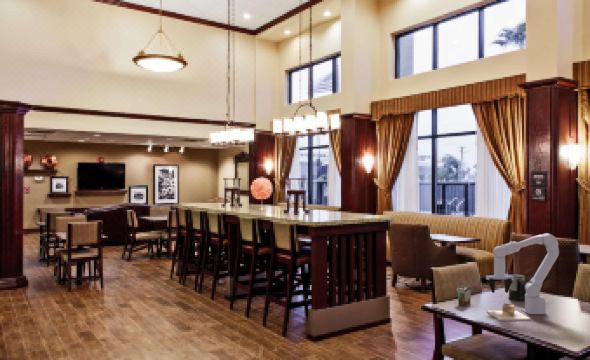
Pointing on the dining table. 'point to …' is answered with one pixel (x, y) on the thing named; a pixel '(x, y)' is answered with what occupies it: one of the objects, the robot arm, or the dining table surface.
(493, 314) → the painted board
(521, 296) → the milk frother
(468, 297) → the food container
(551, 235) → the robot arm
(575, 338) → the dining table surface
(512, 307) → the oak cube
